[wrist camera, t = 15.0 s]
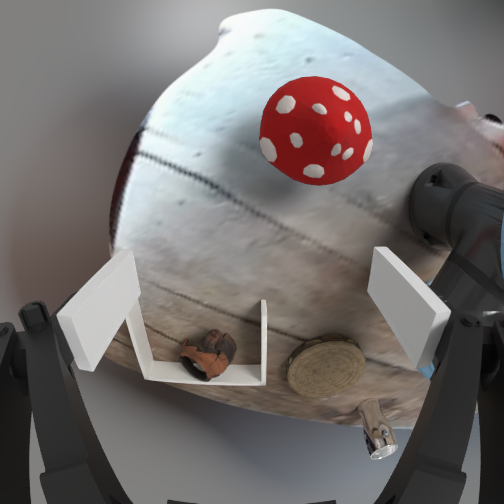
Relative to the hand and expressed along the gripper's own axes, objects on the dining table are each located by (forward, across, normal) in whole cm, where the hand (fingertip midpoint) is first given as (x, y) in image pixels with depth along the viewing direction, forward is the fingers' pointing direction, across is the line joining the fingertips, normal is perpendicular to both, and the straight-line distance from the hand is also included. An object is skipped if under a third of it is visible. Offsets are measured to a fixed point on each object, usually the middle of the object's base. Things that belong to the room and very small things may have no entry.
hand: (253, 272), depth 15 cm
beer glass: (+29, -28, +52) cm, 66 cm away
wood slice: (+29, -14, +35) cm, 48 cm away
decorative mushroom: (+29, -8, -8) cm, 31 cm away
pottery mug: (+29, +8, +28) cm, 41 cm away
